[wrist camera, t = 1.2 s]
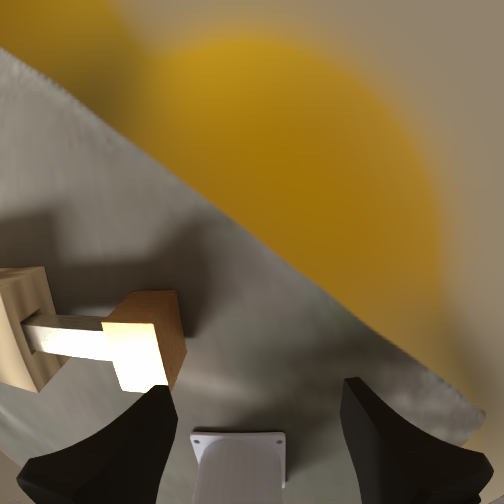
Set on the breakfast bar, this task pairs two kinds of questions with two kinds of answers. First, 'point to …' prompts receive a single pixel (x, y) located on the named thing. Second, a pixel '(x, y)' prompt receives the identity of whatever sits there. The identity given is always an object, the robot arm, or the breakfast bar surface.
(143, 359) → the shaft
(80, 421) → the breakfast bar surface
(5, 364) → the block
